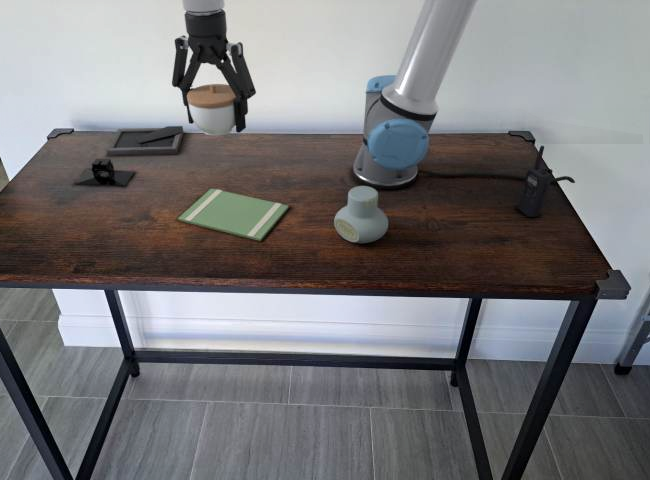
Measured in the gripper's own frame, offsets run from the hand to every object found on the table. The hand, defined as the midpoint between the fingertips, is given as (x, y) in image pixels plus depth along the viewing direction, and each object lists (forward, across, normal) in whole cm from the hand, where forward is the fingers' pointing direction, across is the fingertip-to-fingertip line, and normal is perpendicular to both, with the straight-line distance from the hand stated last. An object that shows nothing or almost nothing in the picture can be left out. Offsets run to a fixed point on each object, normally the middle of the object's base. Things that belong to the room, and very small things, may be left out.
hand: (217, 125), depth 116 cm
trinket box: (+1, 0, 0) cm, 1 cm away
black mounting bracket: (+18, +32, +3) cm, 37 cm away
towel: (+18, -5, +4) cm, 19 cm away
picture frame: (+18, +34, -17) cm, 42 cm away
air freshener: (+18, -33, +1) cm, 38 cm away
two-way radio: (+18, -63, -23) cm, 70 cm away
